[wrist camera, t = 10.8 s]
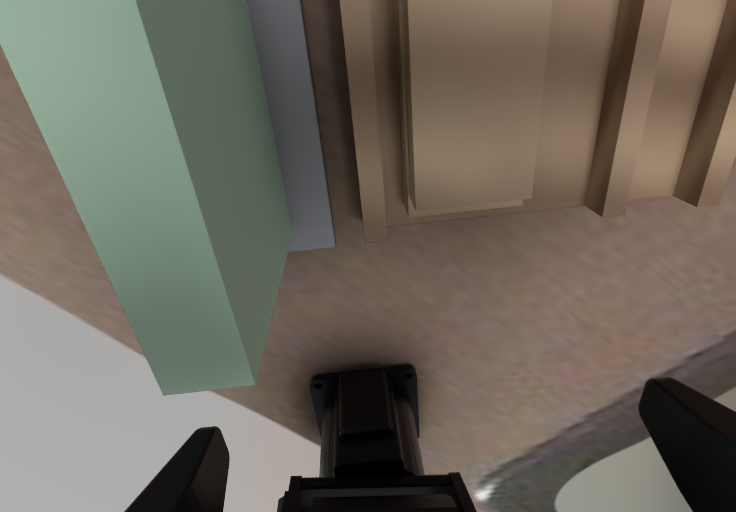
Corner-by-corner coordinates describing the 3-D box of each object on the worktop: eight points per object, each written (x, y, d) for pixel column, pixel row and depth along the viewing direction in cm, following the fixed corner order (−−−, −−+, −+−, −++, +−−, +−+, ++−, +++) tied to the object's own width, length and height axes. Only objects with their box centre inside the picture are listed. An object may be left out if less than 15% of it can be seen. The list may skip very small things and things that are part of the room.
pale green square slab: (293, 231, 20) (255, 385, 11) (242, 237, 20) (163, 395, 11) (244, -13, 15) (111, -79, 6) (177, -6, 15) (-49, -63, 6)
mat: (335, 241, 21) (335, 246, 20) (208, 255, 21) (205, 261, 20) (294, -45, 15) (292, -48, 15) (120, -28, 15) (112, -30, 15)
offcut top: (517, 186, 18) (531, 198, 16) (410, 197, 17) (416, 211, 16) (540, -81, 13) (562, -94, 12) (398, -67, 13) (404, -78, 12)
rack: (678, 186, 21) (718, 204, 18) (362, 220, 21) (365, 242, 18) (767, -128, 15) (840, -156, 13) (330, -83, 15) (328, -104, 13)
